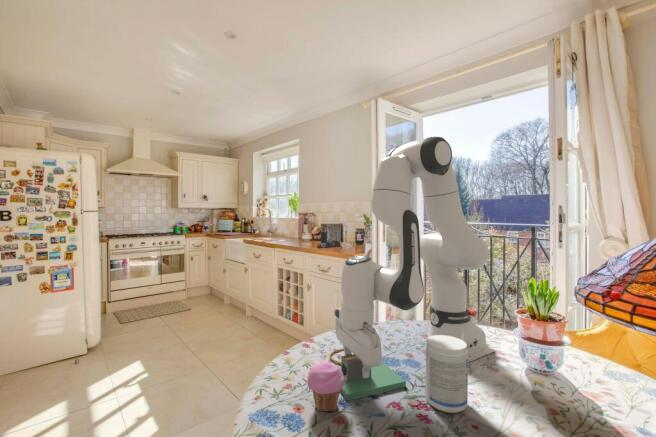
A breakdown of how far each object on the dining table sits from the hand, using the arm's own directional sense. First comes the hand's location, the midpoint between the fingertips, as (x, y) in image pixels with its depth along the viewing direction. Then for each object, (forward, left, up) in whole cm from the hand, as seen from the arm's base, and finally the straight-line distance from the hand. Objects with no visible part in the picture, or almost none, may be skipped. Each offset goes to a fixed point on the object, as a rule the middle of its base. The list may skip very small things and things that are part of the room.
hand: (356, 368), depth 85 cm
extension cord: (-6, -13, -4) cm, 15 cm away
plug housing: (0, 0, -2) cm, 2 cm away
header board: (-2, +1, -4) cm, 4 cm away
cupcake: (+12, +7, -4) cm, 14 cm away
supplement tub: (-16, +16, -4) cm, 23 cm away
